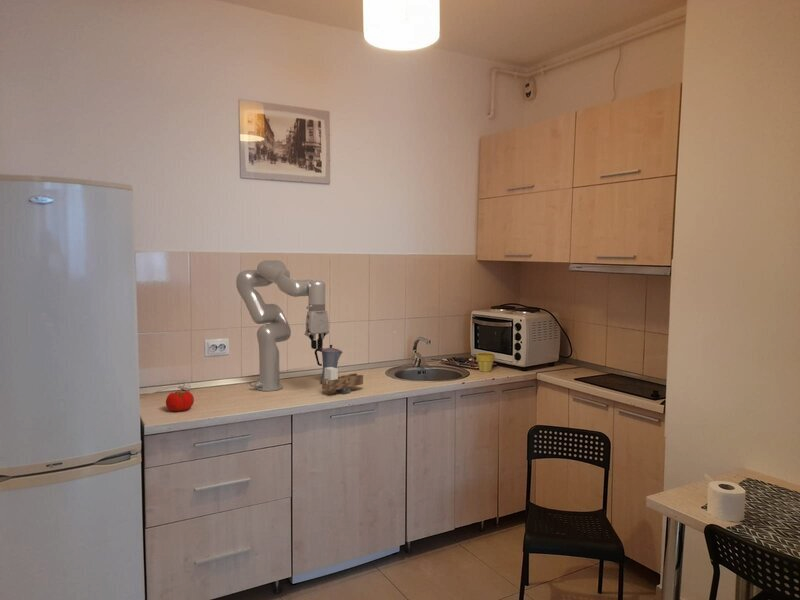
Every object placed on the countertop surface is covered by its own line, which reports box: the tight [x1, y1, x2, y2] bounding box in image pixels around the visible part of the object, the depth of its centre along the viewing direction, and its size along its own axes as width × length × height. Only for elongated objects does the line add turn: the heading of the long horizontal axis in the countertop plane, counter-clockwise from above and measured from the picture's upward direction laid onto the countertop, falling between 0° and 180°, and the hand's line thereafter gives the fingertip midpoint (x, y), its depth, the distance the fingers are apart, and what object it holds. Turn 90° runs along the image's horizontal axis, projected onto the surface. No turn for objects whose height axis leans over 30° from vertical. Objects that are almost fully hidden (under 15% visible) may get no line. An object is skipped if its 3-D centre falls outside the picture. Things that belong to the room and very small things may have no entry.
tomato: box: [165, 390, 195, 413], centre depth 229 cm, size 11×11×8 cm
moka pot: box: [314, 344, 343, 384], centre depth 278 cm, size 10×15×20 cm, turn 78°
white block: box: [324, 367, 339, 384], centre depth 255 cm, size 4×5×7 cm
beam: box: [321, 372, 364, 395], centre depth 260 cm, size 20×6×7 cm, turn 134°
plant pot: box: [475, 352, 496, 373], centre depth 313 cm, size 10×10×10 cm
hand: (316, 347), depth 248 cm, fingers open, 2 cm apart
